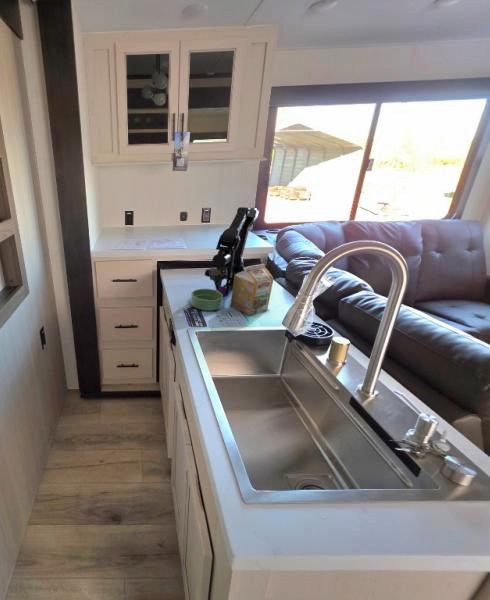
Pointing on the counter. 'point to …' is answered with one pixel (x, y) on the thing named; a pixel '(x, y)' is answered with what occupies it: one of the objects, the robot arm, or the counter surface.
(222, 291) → the ball
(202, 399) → the counter surface
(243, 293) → the milk carton
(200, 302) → the bowl
